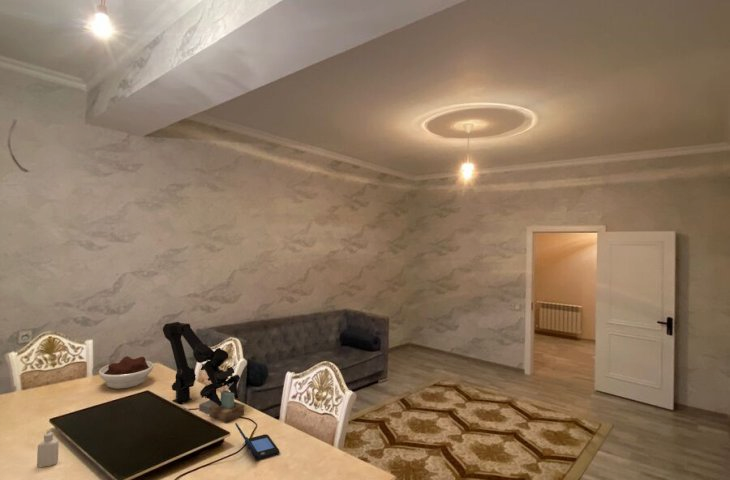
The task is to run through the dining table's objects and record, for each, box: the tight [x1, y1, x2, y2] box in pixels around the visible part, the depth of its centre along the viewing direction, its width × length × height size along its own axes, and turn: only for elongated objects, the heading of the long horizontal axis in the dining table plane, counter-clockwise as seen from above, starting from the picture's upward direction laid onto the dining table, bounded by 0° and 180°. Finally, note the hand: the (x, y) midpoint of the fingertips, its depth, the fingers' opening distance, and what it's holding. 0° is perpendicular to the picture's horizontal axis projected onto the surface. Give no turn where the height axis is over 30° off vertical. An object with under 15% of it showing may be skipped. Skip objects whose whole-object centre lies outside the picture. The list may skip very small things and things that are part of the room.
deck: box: [198, 399, 216, 415], centre depth 179 cm, size 8×7×3 cm
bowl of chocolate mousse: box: [98, 355, 155, 389], centre depth 206 cm, size 25×25×15 cm
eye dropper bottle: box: [36, 428, 60, 467], centre depth 134 cm, size 4×6×12 cm
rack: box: [208, 401, 245, 424], centre depth 174 cm, size 11×10×4 cm
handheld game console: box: [235, 422, 280, 461], centre depth 147 cm, size 16×13×9 cm
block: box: [220, 390, 235, 410], centre depth 174 cm, size 6×2×9 cm, turn 60°
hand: (229, 401), depth 173 cm, fingers open, 9 cm apart
